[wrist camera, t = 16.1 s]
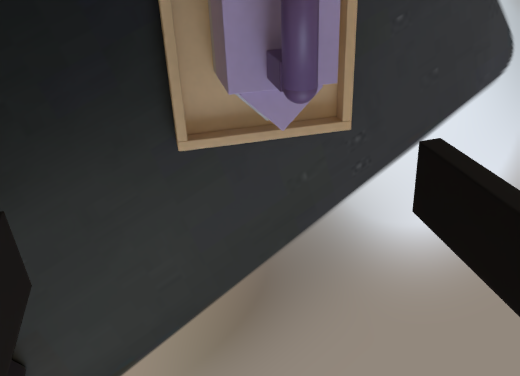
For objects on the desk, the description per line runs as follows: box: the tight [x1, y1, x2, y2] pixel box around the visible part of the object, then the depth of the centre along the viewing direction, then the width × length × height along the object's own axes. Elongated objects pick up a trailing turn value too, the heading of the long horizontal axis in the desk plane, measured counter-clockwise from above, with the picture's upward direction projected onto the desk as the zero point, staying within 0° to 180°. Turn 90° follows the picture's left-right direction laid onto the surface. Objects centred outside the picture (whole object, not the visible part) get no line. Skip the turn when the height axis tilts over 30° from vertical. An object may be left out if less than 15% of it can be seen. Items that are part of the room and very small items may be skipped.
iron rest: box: [158, 0, 358, 151], centre depth 30 cm, size 18×12×2 cm
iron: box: [208, 0, 340, 131], centre depth 27 cm, size 14×6×10 cm, turn 3°
